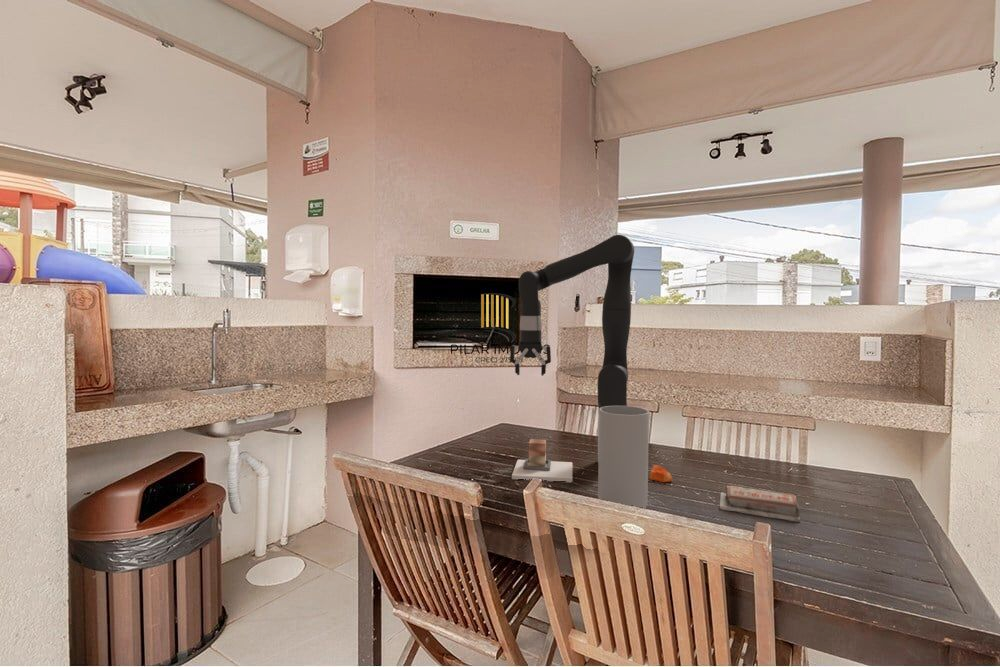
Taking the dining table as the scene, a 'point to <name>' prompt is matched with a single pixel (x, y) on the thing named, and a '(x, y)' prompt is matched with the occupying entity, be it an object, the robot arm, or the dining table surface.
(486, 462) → the dining table surface
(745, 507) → the packaged product
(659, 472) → the rock
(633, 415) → the cylinder vase
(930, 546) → the dining table surface
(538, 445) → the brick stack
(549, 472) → the base plate
